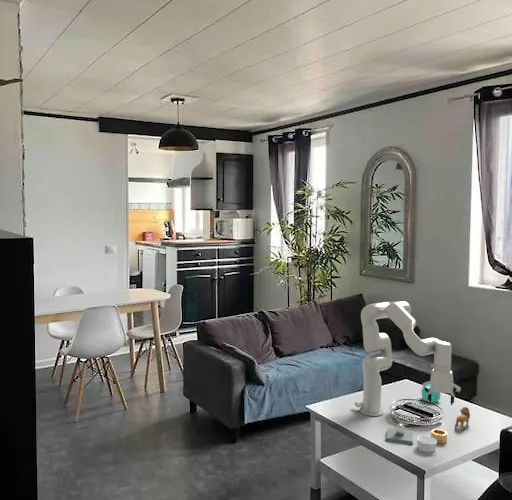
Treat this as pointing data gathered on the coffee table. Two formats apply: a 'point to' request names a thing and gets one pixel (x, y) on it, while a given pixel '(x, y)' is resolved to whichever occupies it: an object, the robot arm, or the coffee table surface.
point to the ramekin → (426, 443)
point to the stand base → (400, 439)
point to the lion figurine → (463, 418)
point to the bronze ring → (439, 435)
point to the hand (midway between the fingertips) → (440, 402)
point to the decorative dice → (434, 395)
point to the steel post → (399, 429)
